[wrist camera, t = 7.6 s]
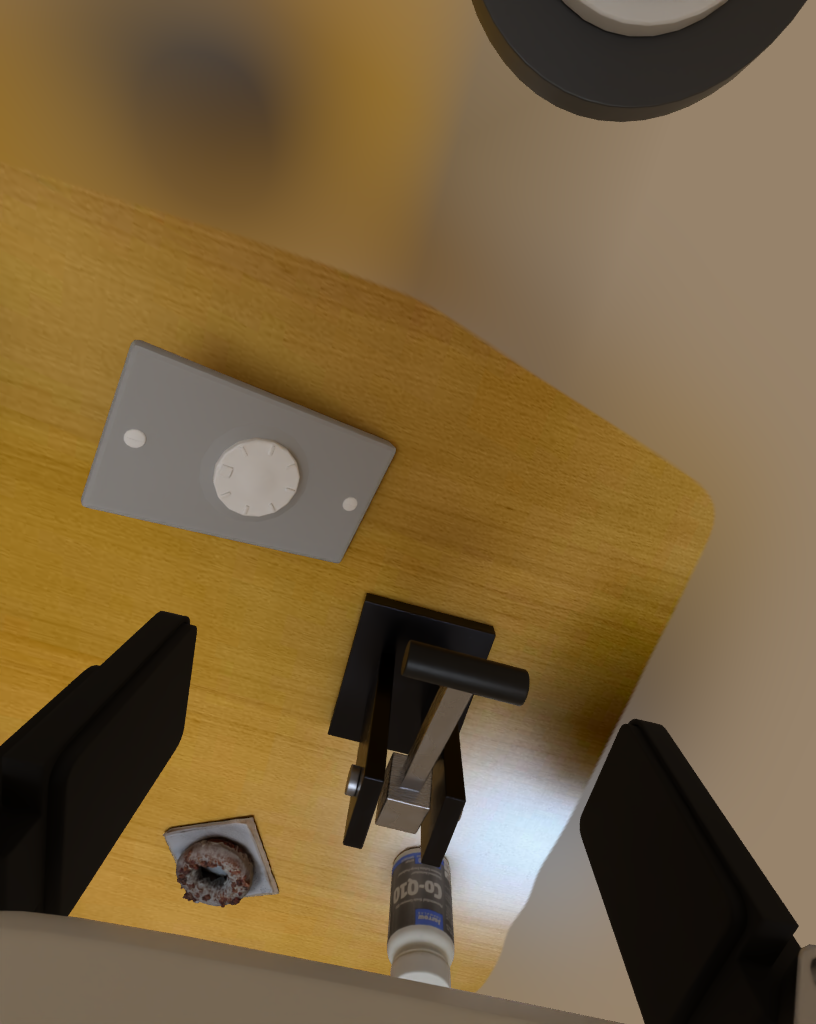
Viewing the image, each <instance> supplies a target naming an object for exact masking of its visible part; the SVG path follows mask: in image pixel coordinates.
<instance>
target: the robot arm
mask: <svg viewBox="0 0 816 1024" xmlns="http://www.w3.org/2000/svg"><path fill="white" fill-rule="evenodd" d="M562 1H563V2H564V3H565V4H566V5H567V6H568V7H569V8H571V9H572V10H573V11H574V12H575V13H577V14H578V15H579V16H580V17H581V18H582V19H584V20H585V21H587V22H589V23H591V24H593V25H595V26H597V27H599V28H601V29H603V30H605V31H609V32H613V33H617V34H621V35H625V36H656V35H661V34H665V33H669V32H674V31H678V30H680V29H682V28H685V27H687V26H689V25H691V24H693V23H695V22H698V21H700V20H702V19H704V18H705V17H706V16H708V15H709V14H711V13H712V12H713V11H715V10H716V9H718V8H719V7H720V6H722V5H723V4H725V3H726V2H727V1H728V0H562ZM196 635H197V627H196V626H194V625H190V619H189V617H187V616H182V615H178V614H174V613H169V612H165V611H160V612H158V613H157V614H156V615H155V616H154V617H152V618H151V619H150V620H149V621H148V622H147V623H146V624H145V625H144V626H143V627H142V628H141V629H139V630H138V631H137V632H136V633H135V634H134V635H133V636H132V637H131V638H130V639H129V640H128V641H126V642H125V643H124V644H123V645H122V646H121V647H120V648H119V649H118V650H117V651H116V652H115V653H113V654H112V655H111V656H110V657H109V658H108V659H107V660H106V661H105V662H104V663H103V664H102V665H101V666H98V665H95V666H91V667H89V668H88V669H86V670H85V671H84V672H82V673H81V674H80V675H79V676H78V677H77V678H76V679H75V680H73V681H72V682H71V683H70V684H69V685H68V686H67V687H66V688H65V689H63V690H62V691H61V692H60V693H59V694H58V695H57V696H56V697H54V698H53V699H52V700H51V701H50V702H49V703H48V704H47V705H46V706H44V707H43V708H42V709H41V710H40V711H39V712H38V713H37V714H36V715H34V716H33V717H32V718H31V719H30V720H29V721H28V722H27V723H25V724H24V725H23V726H22V727H21V728H20V729H19V730H18V731H17V732H15V733H14V734H13V735H12V736H11V737H10V738H9V739H8V740H7V741H5V742H4V743H3V744H2V745H1V746H0V1024H623V1023H618V1022H613V1021H608V1020H604V1019H599V1018H594V1017H589V1016H584V1015H580V1014H575V1013H570V1012H565V1011H560V1010H556V1009H551V1008H546V1007H541V1006H536V1005H531V1004H526V1003H522V1002H517V1001H511V1000H507V999H502V998H497V997H492V996H487V995H482V994H477V993H472V992H467V991H462V990H457V989H452V988H447V987H442V986H437V985H432V984H427V983H422V982H417V981H412V980H407V979H402V978H397V977H392V976H387V975H382V974H377V973H372V972H367V971H362V970H357V969H352V968H347V967H342V966H337V965H332V964H327V963H322V962H317V961H311V960H306V959H301V958H296V957H291V956H286V955H280V954H275V953H270V952H265V951H260V950H255V949H249V948H244V947H239V946H234V945H229V944H224V943H218V942H213V941H208V940H203V939H198V938H193V937H188V936H182V935H176V934H171V933H165V932H159V931H153V930H147V929H142V928H136V927H130V926H124V925H118V924H113V923H107V922H101V921H95V920H89V919H84V918H77V917H68V915H69V914H70V912H71V911H72V909H73V908H74V906H75V905H76V903H77V902H78V900H79V899H80V897H81V895H82V894H83V892H84V891H85V889H86V888H87V886H88V885H89V883H90V882H91V880H92V878H93V877H94V875H95V874H96V872H97V871H98V869H99V868H100V866H101V864H102V863H103V861H104V860H105V858H106V857H107V855H108V854H109V852H110V851H111V849H112V847H113V846H114V844H115V843H116V841H117V840H118V838H119V837H120V835H121V834H122V832H123V830H124V829H125V827H126V826H127V824H128V823H129V821H130V820H131V818H132V816H133V815H134V813H135V812H136V810H137V809H138V807H139V806H140V804H141V803H142V801H143V799H144V798H145V796H146V795H147V793H148V792H149V790H150V789H151V787H152V786H153V784H154V782H155V781H156V779H157V778H158V776H159V775H160V773H161V772H162V770H163V768H164V767H165V765H166V764H167V762H168V761H169V759H170V758H171V756H172V755H173V753H174V751H175V750H176V748H177V746H178V745H179V742H180V740H181V737H182V734H183V731H184V725H185V717H186V710H187V702H188V695H189V687H190V680H191V672H192V665H193V657H194V650H195V643H196ZM580 833H581V837H582V840H583V843H584V846H585V849H586V852H587V855H588V858H589V861H590V864H591V867H592V870H593V873H594V876H595V878H596V882H597V884H598V887H599V890H600V893H601V896H602V899H603V902H604V905H605V908H606V911H607V914H608V917H609V920H610V923H611V926H612V929H613V932H614V934H615V937H616V940H617V943H618V946H619V949H620V952H621V955H622V958H623V961H624V964H625V967H626V970H627V973H628V975H629V979H630V981H631V984H632V987H633V990H634V993H635V996H636V999H637V1002H638V1005H639V1008H640V1010H641V1014H642V1017H643V1020H644V1023H645V1024H816V945H807V946H805V947H803V948H801V947H800V946H799V944H798V943H797V941H796V940H795V938H794V937H793V934H794V932H795V931H796V930H797V928H798V924H797V923H796V921H795V920H794V918H793V917H792V915H791V914H790V912H789V911H788V909H787V908H786V906H785V905H784V903H783V902H782V900H781V899H780V897H779V896H778V894H777V893H776V891H775V890H774V889H773V887H772V886H771V884H770V883H769V881H768V880H767V878H766V877H765V875H764V874H763V872H762V871H761V870H760V868H759V866H758V865H757V863H756V862H755V860H754V859H753V858H752V856H751V854H750V853H749V852H748V850H747V849H746V847H745V846H744V844H743V843H742V841H741V840H740V838H739V837H738V835H737V834H736V832H735V831H734V829H733V828H732V826H731V825H730V823H729V822H728V820H727V819H726V817H725V816H724V815H723V813H722V812H721V810H720V809H719V807H718V806H717V804H716V803H715V801H714V800H713V799H712V797H711V795H710V794H709V792H708V791H707V789H706V788H705V786H704V785H703V783H702V782H701V781H700V779H699V778H698V776H697V775H696V773H695V772H694V770H693V769H692V767H691V766H690V764H689V763H688V761H687V760H686V758H685V757H684V755H683V754H682V752H681V751H680V749H679V748H678V747H677V745H676V743H675V742H674V741H673V739H672V738H671V736H670V735H669V733H668V732H667V730H666V729H665V728H664V727H663V726H662V725H660V724H656V723H652V722H647V721H643V720H638V719H633V720H631V721H630V722H629V723H628V724H624V725H622V726H621V728H620V730H619V732H618V734H617V736H616V739H615V741H614V743H613V745H612V748H611V750H610V752H609V754H608V757H607V759H606V761H605V764H604V766H603V768H602V770H601V772H600V775H599V777H598V779H597V781H596V784H595V786H594V788H593V790H592V793H591V795H590V797H589V799H588V802H587V804H586V806H585V808H584V811H583V813H582V815H581V819H580Z"/></svg>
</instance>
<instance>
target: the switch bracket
mask: <svg viewBox="0 0 816 1024" xmlns="http://www.w3.org/2000/svg"><path fill="white" fill-rule="evenodd" d="M495 636H496V635H495V631H494V628H493V626H489V625H486V624H482V623H478V622H474V621H471V620H467V619H463V618H459V617H455V616H452V615H448V614H444V613H440V612H437V611H433V610H429V609H425V608H421V607H418V606H414V605H410V604H406V603H403V602H399V601H395V600H391V599H387V598H384V597H380V596H376V595H372V594H369V593H367V594H366V598H365V601H364V605H363V609H362V612H361V616H360V619H359V623H358V626H357V630H356V634H355V637H354V641H353V644H352V648H351V652H350V655H349V659H348V662H347V666H346V669H345V673H344V677H343V680H342V684H341V687H340V691H339V695H338V698H337V702H336V705H335V709H334V712H333V716H332V720H331V723H330V727H329V731H328V735H332V736H336V737H340V738H344V739H349V740H353V741H357V742H360V743H359V749H358V755H357V761H356V765H351V768H350V771H349V774H348V778H347V783H346V787H345V795H348V796H351V797H350V803H349V809H348V815H347V821H346V827H345V833H344V839H343V845H346V846H350V847H355V848H359V849H362V847H363V844H364V841H365V838H366V835H367V832H368V829H369V826H370V823H371V820H372V817H373V814H374V811H375V808H376V805H377V802H378V799H379V796H380V793H381V790H382V787H383V784H384V780H385V768H386V757H387V749H389V750H393V751H397V752H401V753H405V754H409V752H410V750H411V747H412V745H413V743H414V741H415V739H416V737H417V735H418V733H419V730H420V728H421V726H422V724H423V722H424V720H425V718H426V716H427V713H428V711H429V709H430V707H431V705H432V703H433V701H434V698H435V696H436V694H437V692H438V690H439V688H440V685H436V684H432V683H428V682H424V681H420V680H416V679H412V678H408V677H404V676H402V675H401V667H402V662H403V657H404V653H405V650H406V646H407V644H408V642H409V641H410V640H414V641H418V642H421V643H425V644H429V645H433V646H437V647H441V648H444V649H448V650H452V651H456V652H460V653H464V654H467V655H471V656H475V657H479V658H483V659H487V657H488V655H489V652H490V649H491V647H492V644H493V641H494V639H495ZM473 695H474V694H472V696H471V698H470V700H469V702H468V704H467V705H466V707H465V709H464V711H463V713H462V715H461V717H460V718H459V720H458V722H457V724H456V726H455V728H454V730H453V731H452V733H451V735H450V737H449V739H448V741H447V743H446V745H445V746H444V748H443V750H442V752H441V754H440V756H439V758H438V759H437V761H436V763H435V765H434V767H433V773H432V790H431V806H430V810H429V812H428V813H427V815H426V817H425V819H424V820H423V822H422V824H421V863H422V864H425V865H430V866H434V867H438V868H439V867H440V865H441V863H442V860H443V858H444V855H445V853H446V850H447V848H448V845H449V843H450V840H451V838H452V835H453V833H454V830H455V828H456V825H457V823H458V821H459V820H460V818H461V815H462V811H463V807H464V805H465V802H466V797H465V788H464V778H463V768H462V759H461V749H460V740H459V733H460V730H461V727H462V725H463V722H464V719H465V717H466V714H467V711H468V708H469V706H470V703H471V700H472V698H473Z"/></svg>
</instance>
